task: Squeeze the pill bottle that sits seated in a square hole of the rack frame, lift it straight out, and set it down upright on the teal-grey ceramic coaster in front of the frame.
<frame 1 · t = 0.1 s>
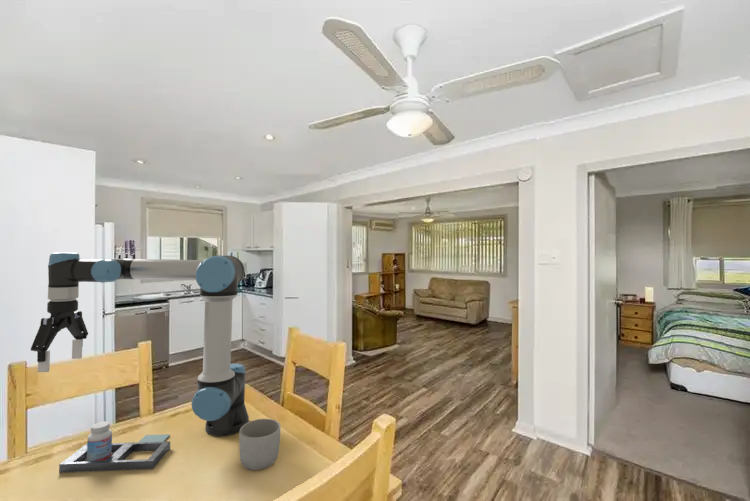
hand: (61, 364, 114), 28 cm above the table, fingers open, 13 cm apart
pill bottle: (99, 461, 109), resting in rack frame
planter: (259, 463, 110), on the table
coaster: (151, 442, 120), on the table
rack frame: (118, 460, 110), on the table
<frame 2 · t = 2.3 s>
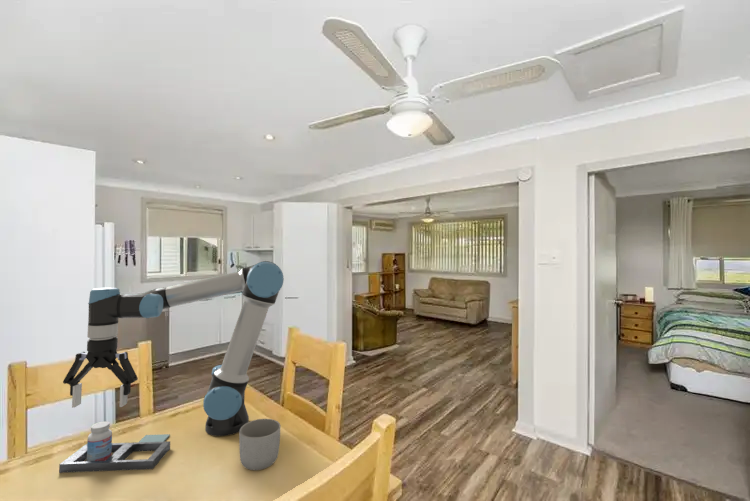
hand: (100, 405, 109), 17 cm above the table, fingers open, 13 cm apart
nothing on the table moved.
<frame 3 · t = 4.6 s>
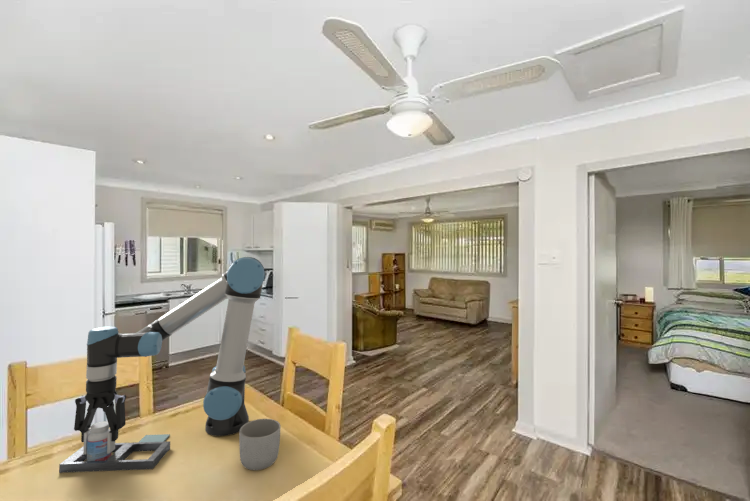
hand: (99, 451, 109), 3 cm above the table, fingers closed on pill bottle, 6 cm apart
pill bottle: (99, 461, 109), resting in rack frame, touching gripper
everything else where it was.
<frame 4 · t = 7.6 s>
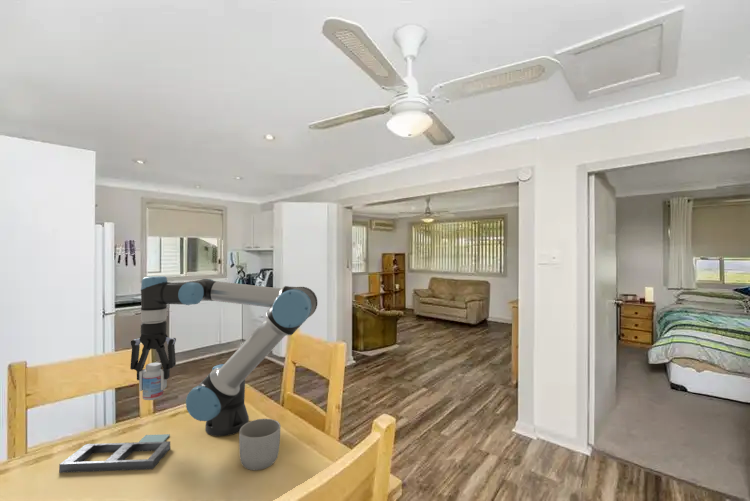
hand: (153, 388, 120), 19 cm above the table, fingers closed on pill bottle, 6 cm apart
pill bottle: (153, 397, 120), point 15 cm above the table, touching gripper
everything else where it was.
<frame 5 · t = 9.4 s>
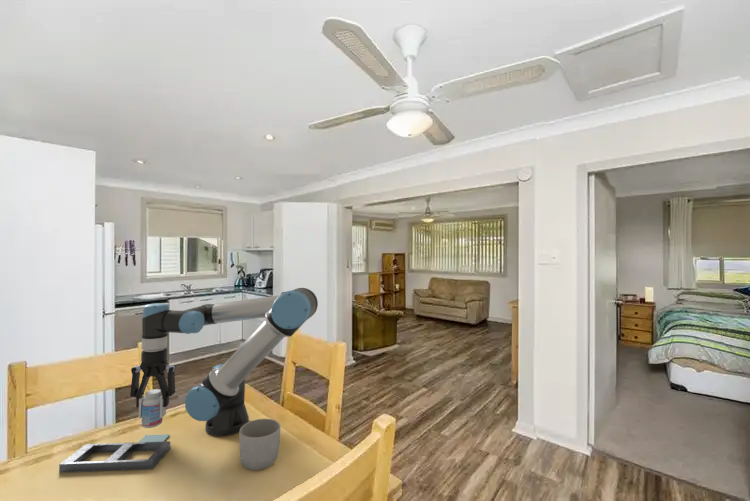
hand: (152, 416, 120), 9 cm above the table, fingers closed on pill bottle, 6 cm apart
pill bottle: (152, 425, 120), point 6 cm above the table, touching gripper
everything else where it was.
when the fingers open (5 cm above the table, at t = 10.9 s): pill bottle drops 2 cm, resting on coaster.
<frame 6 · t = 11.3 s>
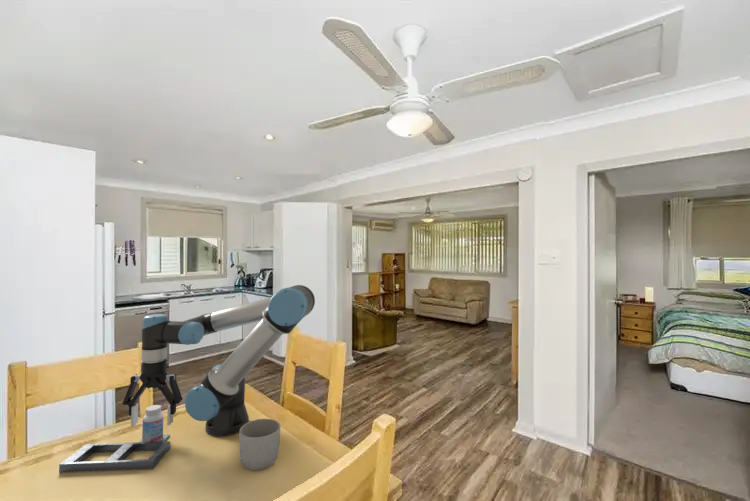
hand: (152, 424, 120), 6 cm above the table, fingers open, 11 cm apart
pill bottle: (152, 441, 120), resting on coaster
everything else where it was.
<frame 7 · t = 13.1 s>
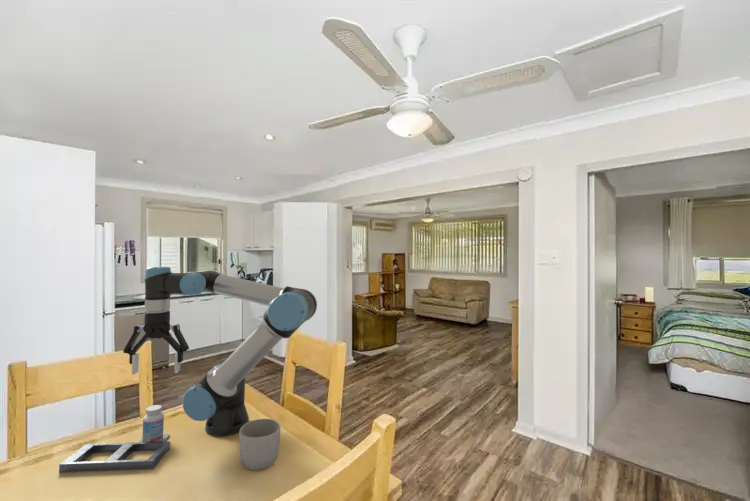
hand: (156, 372, 121), 24 cm above the table, fingers open, 13 cm apart
nothing on the table moved.
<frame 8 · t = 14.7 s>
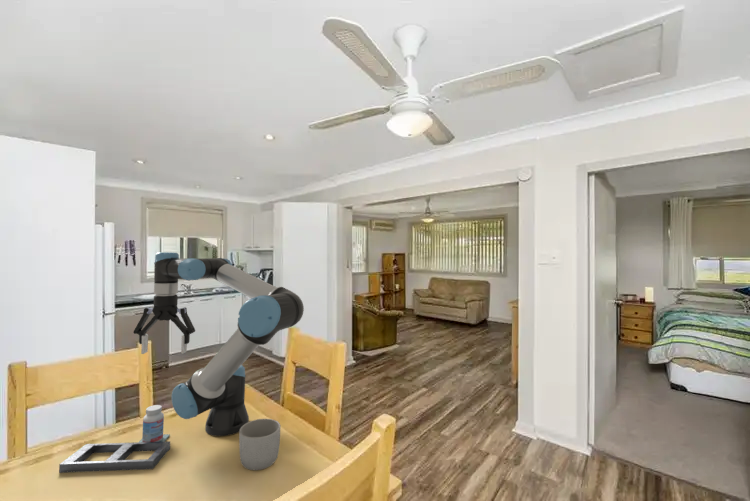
hand: (164, 352, 127), 29 cm above the table, fingers open, 13 cm apart
nothing on the table moved.
at the end: pill bottle inside the target area on the coaster (0.3 cm from its centre), point 0.4 cm above the coaster's base; pill bottle tilted 0°; the gripper is holding nothing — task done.
